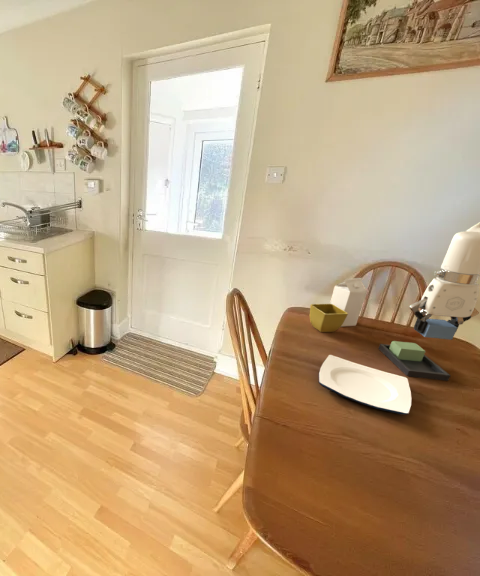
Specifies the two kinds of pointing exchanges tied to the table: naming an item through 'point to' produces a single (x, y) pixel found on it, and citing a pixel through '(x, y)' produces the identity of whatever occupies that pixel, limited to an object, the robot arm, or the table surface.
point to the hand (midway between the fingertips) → (433, 332)
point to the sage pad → (407, 351)
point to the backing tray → (416, 366)
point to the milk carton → (349, 299)
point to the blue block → (439, 329)
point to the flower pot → (326, 317)
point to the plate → (366, 385)
